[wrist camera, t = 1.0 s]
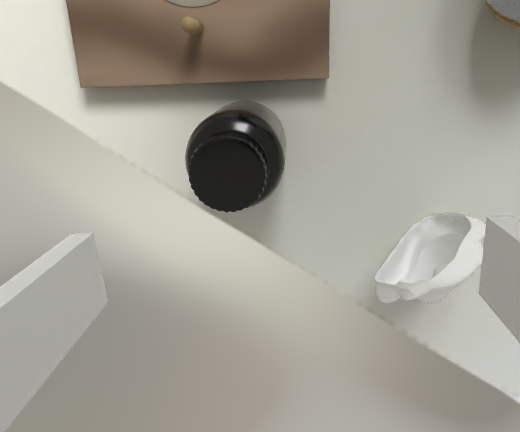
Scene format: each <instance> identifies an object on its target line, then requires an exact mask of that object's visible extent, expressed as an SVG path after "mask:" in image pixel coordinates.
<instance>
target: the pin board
mask: <svg viewBox="0 0 520 432" xmlns="http://www.w3.org/2000/svg"><path fill="white" fill-rule="evenodd" d="M66 2H67V8H68V14H69V20H70V26H71V32H72V38H73V44H74V50H75V56H76V62H77V68H78V74H79V80H80V86H81V88H88V87H113V86H139V85H165V84H191V83H217V82H242V81H268V80H294V79H320V78H329V12H330V0H66Z"/></svg>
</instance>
